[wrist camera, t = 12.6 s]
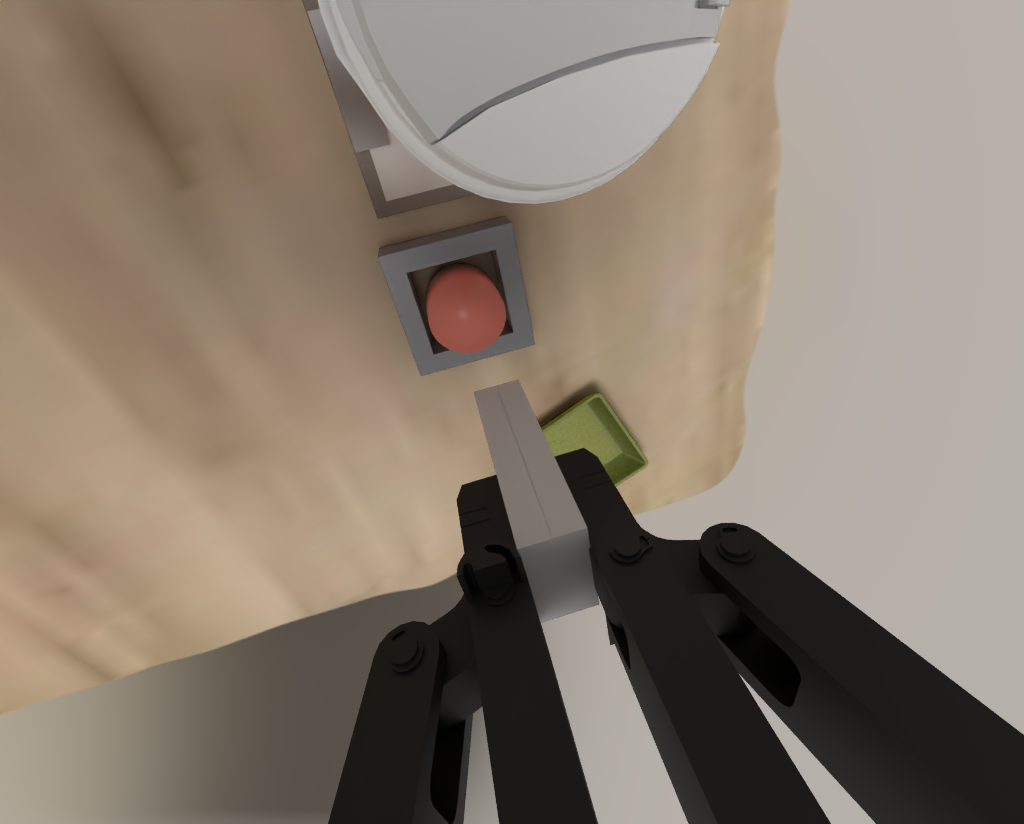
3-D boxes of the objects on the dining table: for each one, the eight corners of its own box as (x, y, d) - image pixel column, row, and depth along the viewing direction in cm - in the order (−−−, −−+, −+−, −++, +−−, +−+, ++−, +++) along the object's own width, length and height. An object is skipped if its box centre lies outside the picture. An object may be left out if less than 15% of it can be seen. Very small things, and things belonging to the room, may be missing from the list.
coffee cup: (553, -69, 19) (862, -455, 6) (548, 160, 23) (721, 204, 11) (340, -80, 17) (188, -604, 5) (378, 166, 22) (349, 223, 9)
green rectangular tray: (639, 449, 37) (651, 465, 35) (551, 506, 38) (558, 524, 36) (589, 376, 32) (600, 390, 30) (491, 445, 33) (496, 462, 32)
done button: (415, 274, 24) (417, 290, 22) (487, 255, 25) (496, 268, 22) (437, 341, 27) (441, 361, 24) (503, 323, 27) (512, 341, 24)
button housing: (379, 248, 24) (377, 257, 23) (504, 215, 25) (511, 222, 23) (419, 361, 28) (420, 376, 27) (527, 331, 29) (534, 344, 27)
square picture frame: (275, -83, 17) (267, -96, 16) (571, -145, 18) (582, -162, 17) (378, 216, 24) (377, 221, 23) (596, 161, 24) (606, 162, 23)
